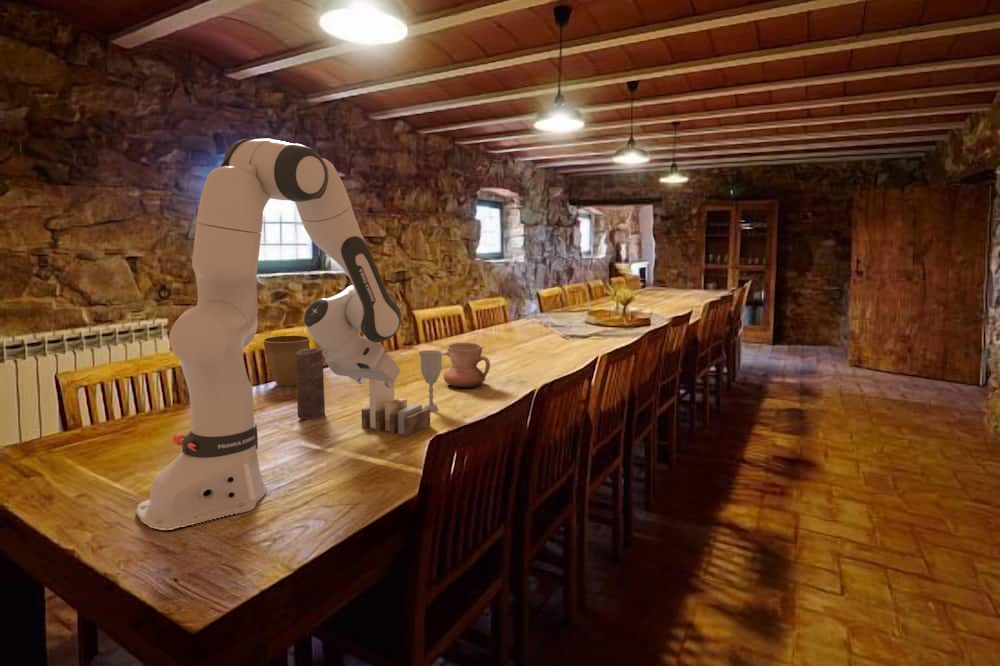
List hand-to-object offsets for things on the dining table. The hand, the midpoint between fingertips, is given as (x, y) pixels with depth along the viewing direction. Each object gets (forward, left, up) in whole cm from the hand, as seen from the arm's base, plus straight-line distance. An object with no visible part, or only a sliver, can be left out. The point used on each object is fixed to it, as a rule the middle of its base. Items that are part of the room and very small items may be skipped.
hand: (376, 383), depth 156 cm
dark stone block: (-7, +21, -13) cm, 26 cm away
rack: (+3, -4, -13) cm, 14 cm away
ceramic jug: (+51, +17, -13) cm, 55 cm away
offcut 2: (+5, -8, -12) cm, 15 cm away
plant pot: (+8, +61, -13) cm, 63 cm away
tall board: (+2, +1, -12) cm, 12 cm away
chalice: (+21, +2, -13) cm, 25 cm away
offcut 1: (+3, -4, -12) cm, 13 cm away
